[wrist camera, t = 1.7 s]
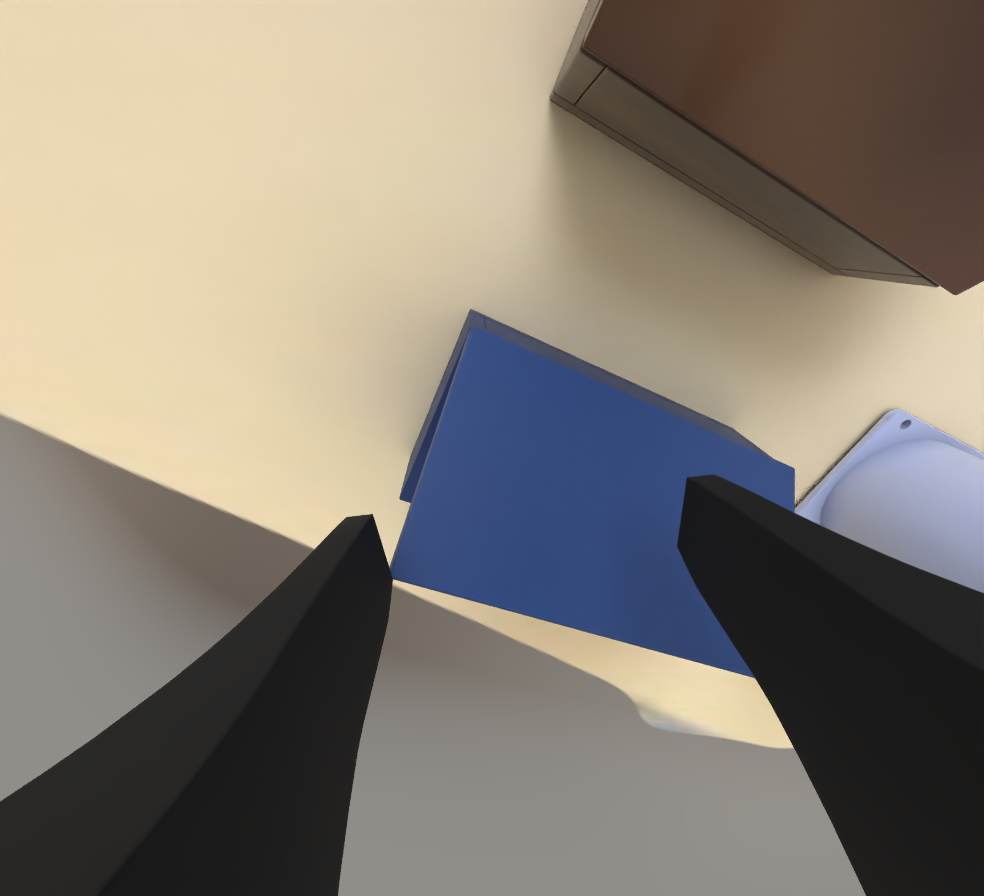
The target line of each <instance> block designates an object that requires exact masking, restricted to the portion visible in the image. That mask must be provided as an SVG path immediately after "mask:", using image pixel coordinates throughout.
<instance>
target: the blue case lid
mask: <svg viewBox="0 0 984 896" xmlns="http://www.w3.org/2000/svg"><path fill="white" fill-rule="evenodd" d="M711 474H714V475H717V476H719V477H722V478H724V479H726V480H729V481H731V482H733V483H735V484H737V485H739V486H741V487H743V488H746V489H748V490H750V491H752V492H754V493H756V494H758V495H760V496H762V497H764V498H766V499H768V500H770V501H772V502H774V503H776V504H778V505H780V506H782V507H784V508H786V509H788V510H790V511H792V512H794V498H795V469H794V468H792V467H790V466H788V465H786V464H783V463H781V462H779V461H777V460H774V459H772V458H770V457H768V456H765V455H763V454H761V453H759V452H757V451H754V450H752V449H750V448H748V447H745V446H743V445H741V444H739V443H736V442H734V441H732V440H730V439H727V438H725V437H723V436H721V435H718V434H716V433H714V432H712V431H709V430H707V429H705V428H703V427H700V426H698V425H696V424H694V423H692V422H689V421H687V420H685V419H683V418H680V417H678V416H676V415H674V414H671V413H669V412H667V411H665V410H662V409H660V408H658V407H656V406H653V405H651V404H649V403H647V402H644V401H642V400H640V399H638V398H635V397H633V396H631V395H629V394H626V393H624V392H622V391H620V390H618V389H615V388H613V387H611V386H609V385H606V384H604V383H602V382H600V381H597V380H595V379H593V378H591V377H588V376H586V375H584V374H582V373H579V372H577V371H575V370H573V369H570V368H568V367H566V366H564V365H561V364H559V363H557V362H555V361H553V360H550V359H548V358H546V357H544V356H541V355H539V354H537V353H535V352H532V351H530V350H528V349H526V348H523V347H521V346H519V345H517V344H514V343H512V342H510V341H508V340H505V339H503V338H501V337H499V336H496V335H494V334H492V333H490V332H488V331H485V330H483V329H481V328H479V327H476V326H472V328H471V329H470V331H469V333H468V335H467V338H466V341H465V344H464V347H463V350H462V353H461V356H460V359H459V362H458V365H457V368H456V371H455V374H454V377H453V380H452V383H451V386H450V389H449V392H448V395H447V398H446V401H445V404H444V407H443V410H442V413H441V416H440V419H439V422H438V425H437V428H436V431H435V434H434V437H433V440H432V442H431V445H430V448H429V451H428V454H427V457H426V460H425V463H424V466H423V469H422V472H421V475H420V478H419V481H418V484H417V487H416V490H415V493H414V496H413V499H412V502H411V505H410V508H409V511H408V514H407V517H406V520H405V523H404V526H403V529H402V532H401V535H400V538H399V541H398V544H397V547H396V550H395V552H394V555H393V558H392V561H391V564H390V567H389V568H390V571H391V575H392V578H393V579H394V580H398V581H402V582H405V583H409V584H413V585H416V586H420V587H424V588H427V589H431V590H435V591H438V592H442V593H446V594H449V595H453V596H456V597H460V598H464V599H467V600H471V601H475V602H478V603H482V604H486V605H489V606H493V607H497V608H500V609H504V610H508V611H511V612H515V613H519V614H522V615H526V616H530V617H533V618H537V619H541V620H544V621H548V622H552V623H555V624H559V625H563V626H566V627H570V628H574V629H577V630H581V631H585V632H588V633H592V634H596V635H599V636H603V637H606V638H610V639H614V640H617V641H621V642H625V643H628V644H632V645H636V646H639V647H643V648H647V649H650V650H654V651H658V652H661V653H665V654H669V655H672V656H676V657H680V658H683V659H687V660H691V661H694V662H698V663H702V664H705V665H709V666H713V667H716V668H720V669H724V670H727V671H731V672H735V673H738V674H742V675H746V676H749V677H753V678H755V677H754V676H753V674H752V673H751V671H750V670H749V668H748V666H747V665H746V663H745V662H744V660H743V659H742V657H741V656H740V654H739V653H738V651H737V650H736V648H735V646H734V645H733V643H732V642H731V640H730V639H729V637H728V636H727V634H726V633H725V631H724V630H723V628H722V626H721V625H720V623H719V622H718V620H717V619H716V617H715V616H714V614H713V612H712V611H711V609H710V608H709V606H708V605H707V603H706V601H705V600H704V598H703V597H702V595H701V594H700V592H699V590H698V589H697V587H696V585H695V583H694V581H693V579H692V577H691V575H690V573H689V571H688V569H687V567H686V565H685V563H684V561H683V558H682V556H681V554H680V552H679V550H678V547H677V542H678V535H679V528H680V521H681V514H682V507H683V500H684V493H685V486H686V479H687V477H694V476H702V475H711Z"/></svg>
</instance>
